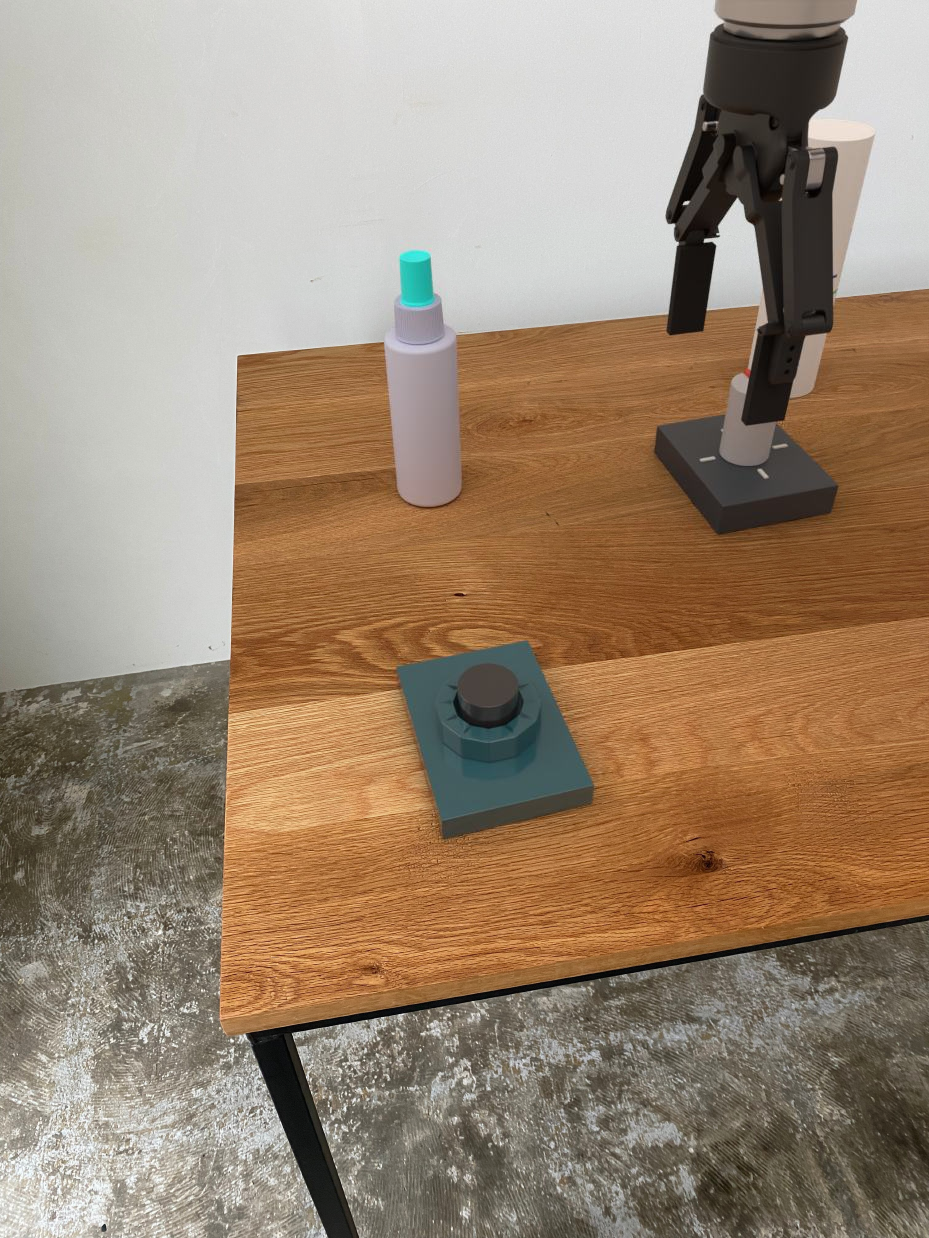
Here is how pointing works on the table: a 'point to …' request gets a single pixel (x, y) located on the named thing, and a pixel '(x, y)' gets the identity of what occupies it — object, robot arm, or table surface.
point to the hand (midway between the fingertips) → (720, 373)
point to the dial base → (743, 477)
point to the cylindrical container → (849, 178)
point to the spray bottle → (423, 389)
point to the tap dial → (743, 429)
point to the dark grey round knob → (488, 695)
